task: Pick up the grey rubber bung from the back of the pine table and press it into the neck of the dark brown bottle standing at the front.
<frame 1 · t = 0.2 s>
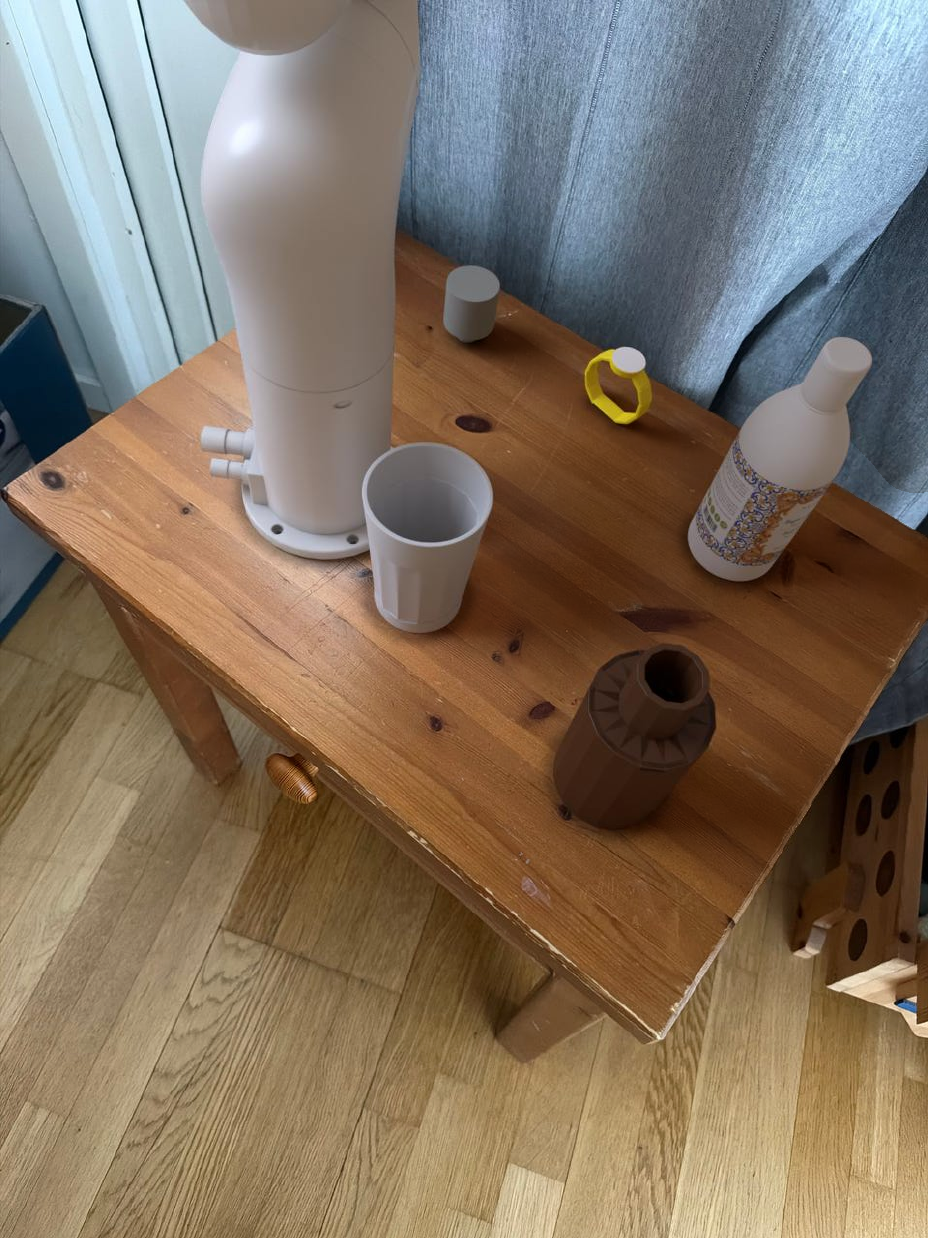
watch: (608, 412, 76), on the table
bung: (466, 335, 78), on the table
bottle: (606, 775, 59), on the table
cup: (418, 596, 65), on the table
bath foam: (728, 548, 70), on the table
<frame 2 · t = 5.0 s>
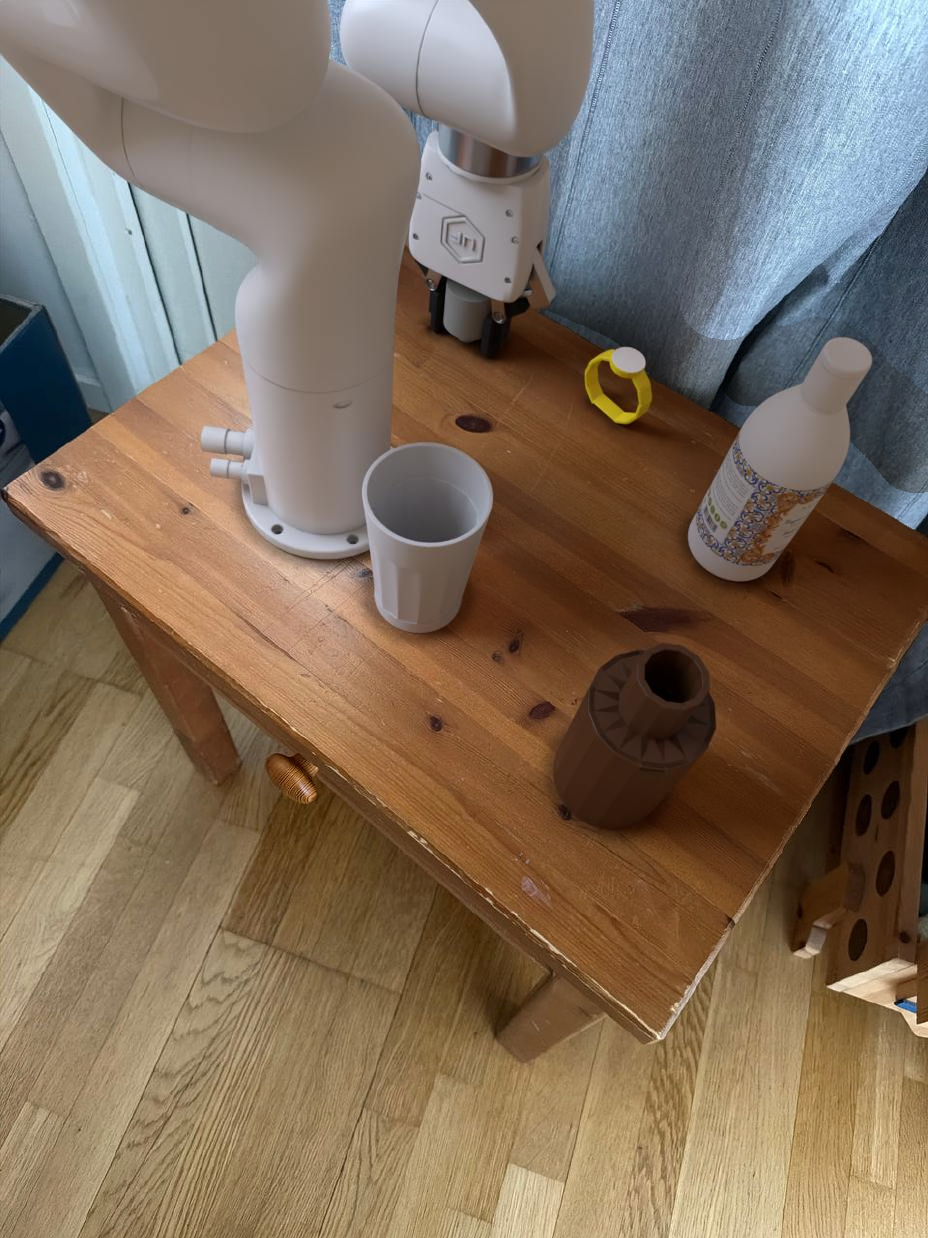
hand: (467, 332, 78), 0 cm above the table, tool pointing down, fingers closed on bung, 4 cm apart
bung: (466, 335, 78), on the table, touching gripper
everything else where it was.
when the fingers open (14 cm above the table, at t = 12.6 s): bung stays where it is, resting on bottle.
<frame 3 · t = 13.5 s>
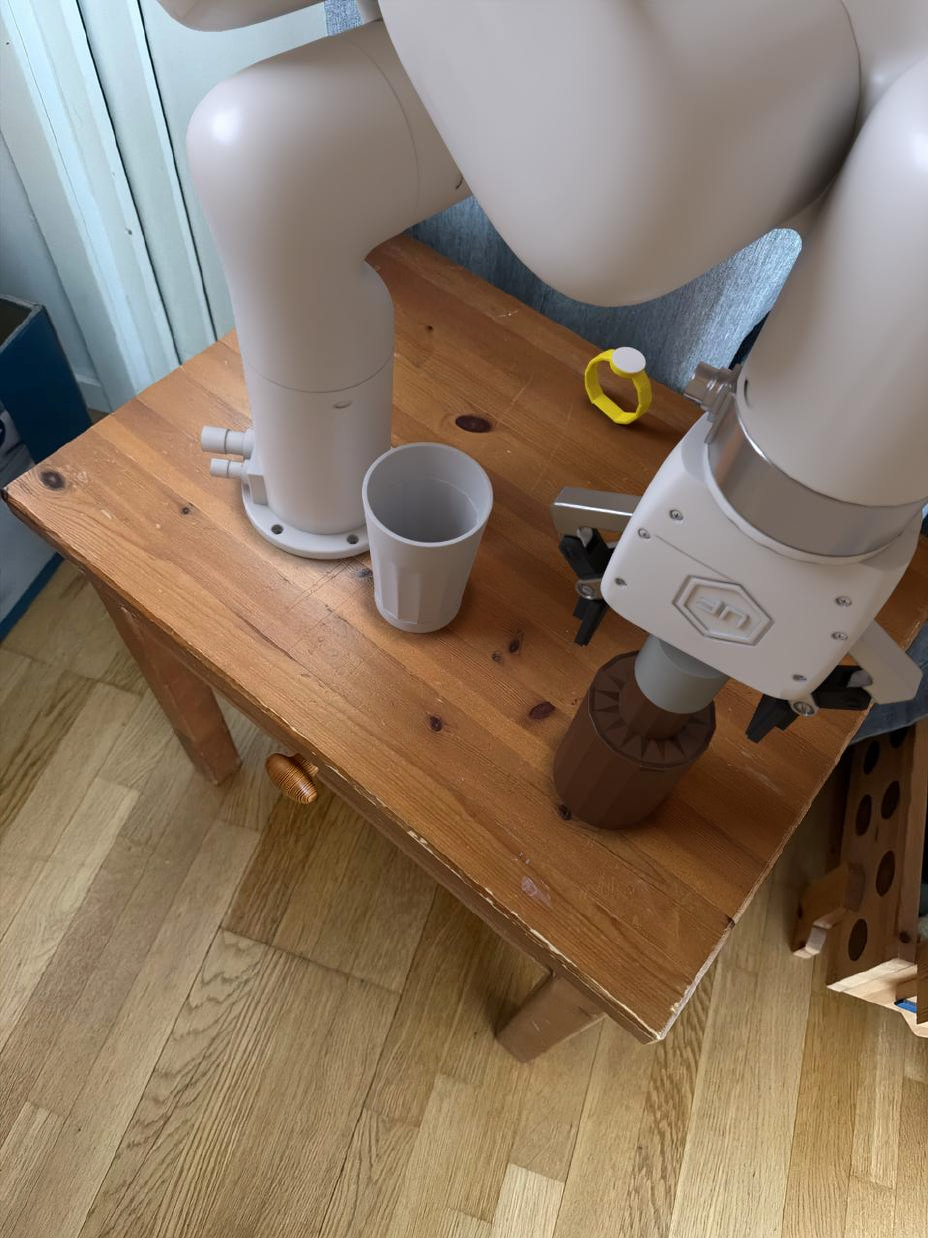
hand: (674, 670, 46), 15 cm above the table, tool pointing down, fingers open, 9 cm apart
bung: (667, 687, 48), point 13 cm above the table, touching bottle
everything else where it was.
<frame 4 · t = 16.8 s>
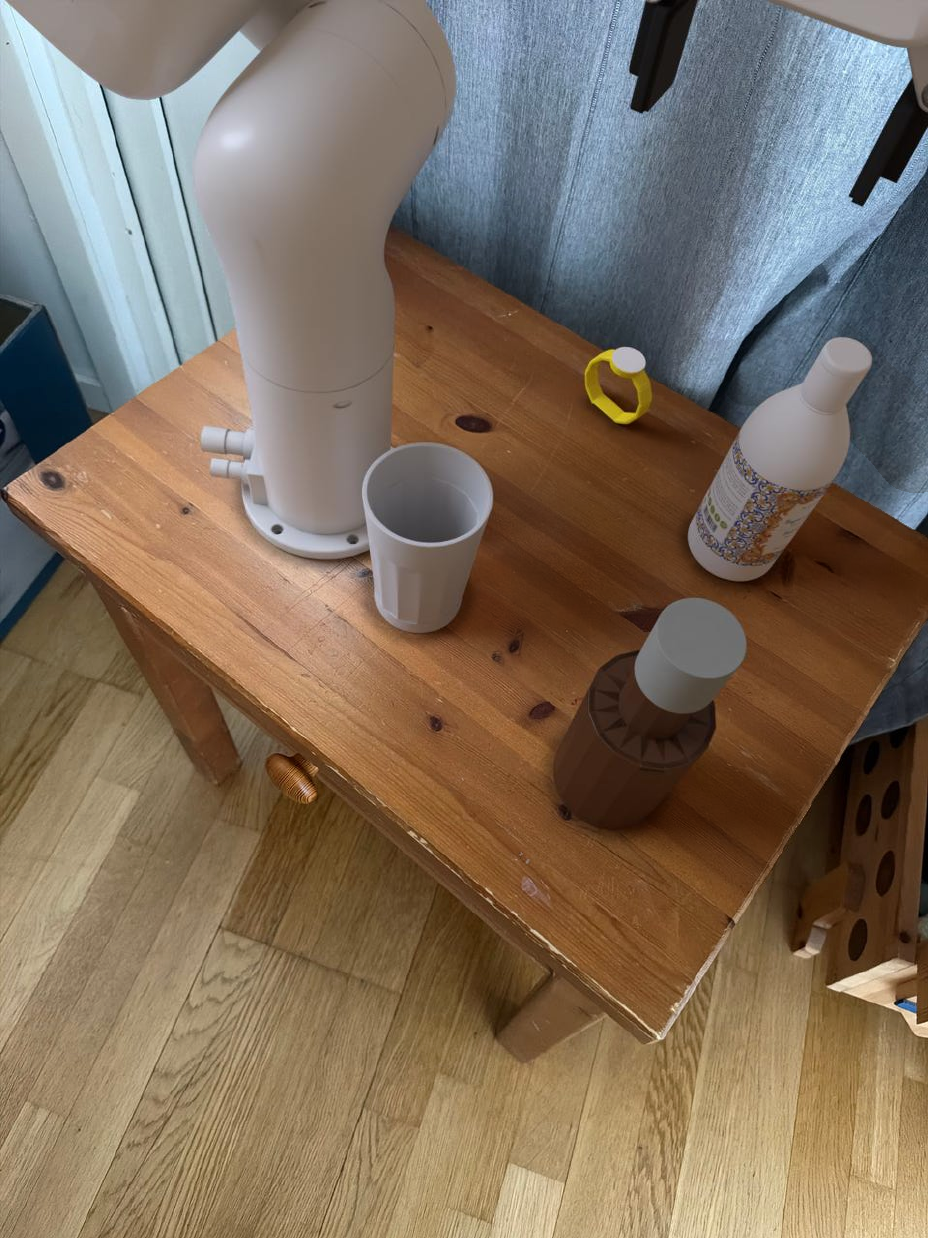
hand: (755, 141, 37), 34 cm above the table, tool pointing down, fingers open, 9 cm apart
nothing on the table moved.
at the end: bung 0.1 cm off-centre in the bottle, point 13.5 cm above the bottle's base; bung tilted 0°; the gripper is holding nothing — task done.
